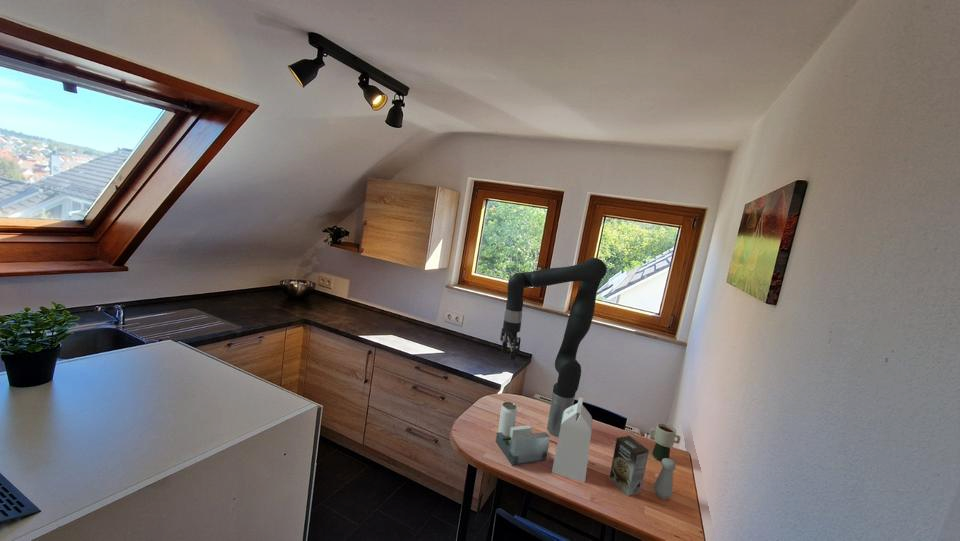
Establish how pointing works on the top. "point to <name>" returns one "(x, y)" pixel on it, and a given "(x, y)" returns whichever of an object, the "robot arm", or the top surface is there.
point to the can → (507, 418)
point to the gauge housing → (524, 448)
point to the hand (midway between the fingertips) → (508, 355)
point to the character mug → (663, 440)
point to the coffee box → (628, 465)
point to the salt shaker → (665, 479)
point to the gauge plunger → (518, 432)
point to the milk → (573, 443)
